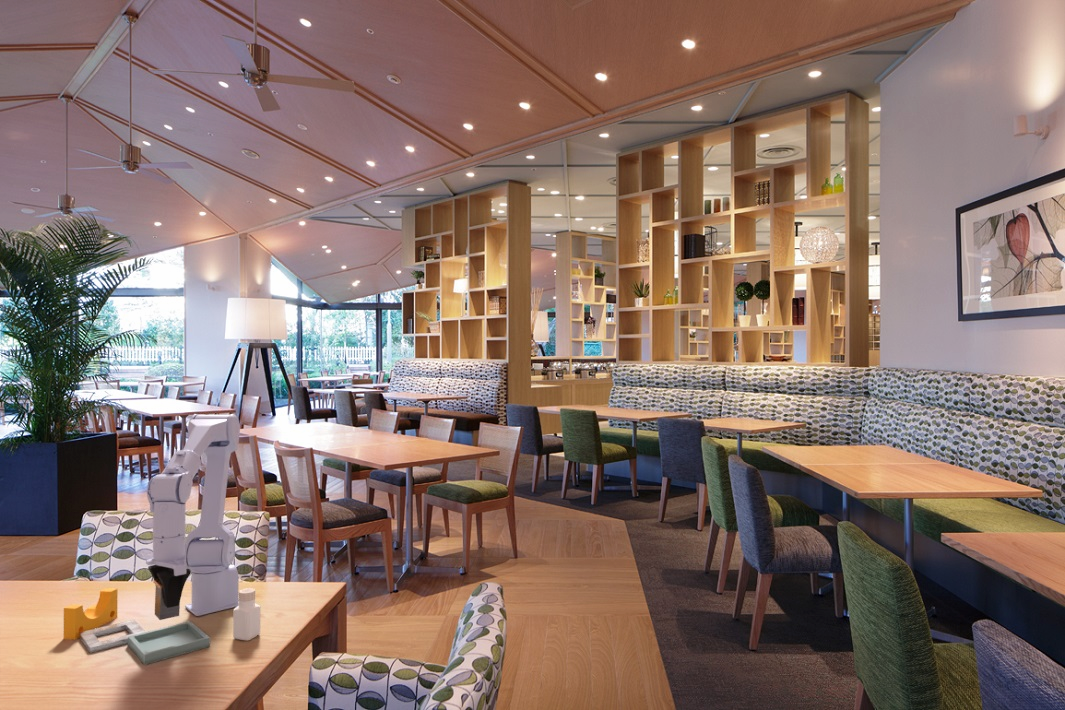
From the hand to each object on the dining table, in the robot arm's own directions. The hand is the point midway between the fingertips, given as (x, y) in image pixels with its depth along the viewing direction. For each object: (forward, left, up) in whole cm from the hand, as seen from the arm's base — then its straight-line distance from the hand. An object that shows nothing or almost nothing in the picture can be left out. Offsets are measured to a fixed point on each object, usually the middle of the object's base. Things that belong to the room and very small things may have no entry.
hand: (169, 603), depth 136 cm
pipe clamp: (+10, -22, -9) cm, 25 cm away
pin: (0, 0, -2) cm, 2 cm away
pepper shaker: (-13, +6, -9) cm, 17 cm away
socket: (+7, -12, -8) cm, 16 cm away
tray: (0, 0, -8) cm, 8 cm away
